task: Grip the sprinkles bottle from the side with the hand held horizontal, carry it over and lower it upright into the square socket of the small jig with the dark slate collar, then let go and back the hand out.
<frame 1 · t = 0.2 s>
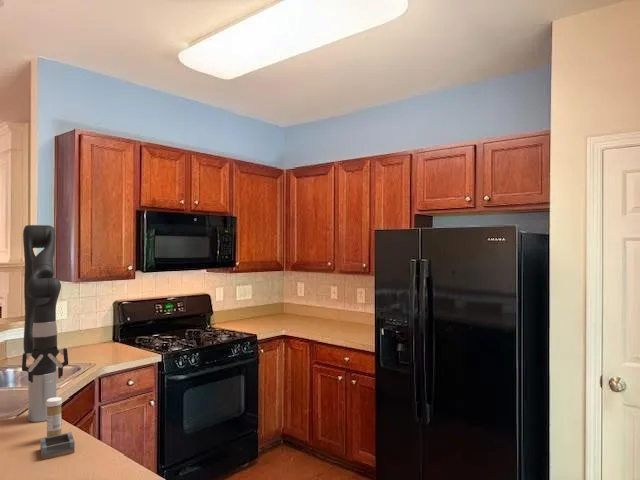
hand: (45, 380, 169), 17 cm above the worktop, tool pointing down, fingers open, 8 cm apart
socket jig: (57, 451, 151), on the worktop
sprinkles bottle: (54, 439, 161), on the worktop
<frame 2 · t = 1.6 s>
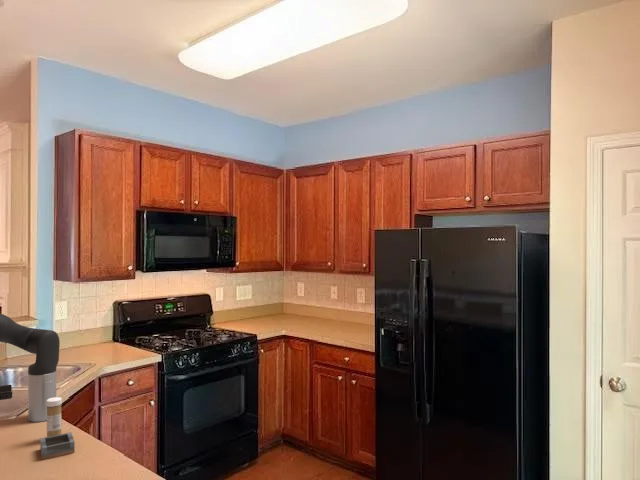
hand: (11, 391, 154), 18 cm above the worktop, tool horizontal, fingers open, 8 cm apart
nothing on the worktop moved.
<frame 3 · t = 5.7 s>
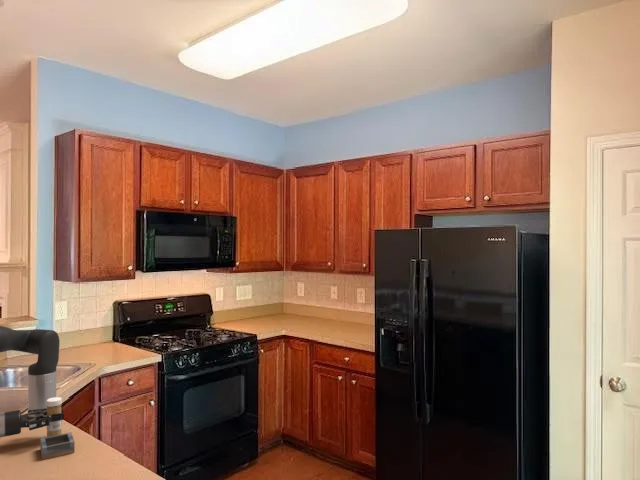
hand: (63, 413, 162), 8 cm above the worktop, tool horizontal, fingers closed on sprinkles bottle, 4 cm apart
sprinkles bottle: (54, 439, 161), on the worktop, touching gripper
when the fingers open (10 cm above the worktop, at t = 10.8 s): sprinkles bottle drops 1 cm, resting on socket jig.
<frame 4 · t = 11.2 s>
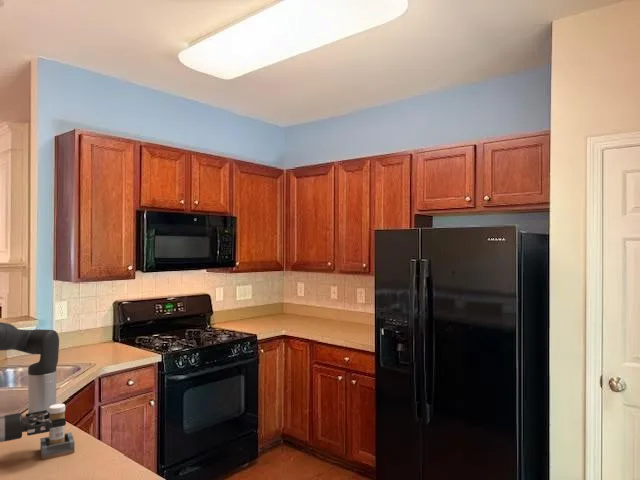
hand: (64, 417, 152), 10 cm above the worktop, tool horizontal, fingers open, 8 cm apart
sprinkles bottle: (56, 448, 151), point 1 cm above the worktop, touching socket jig
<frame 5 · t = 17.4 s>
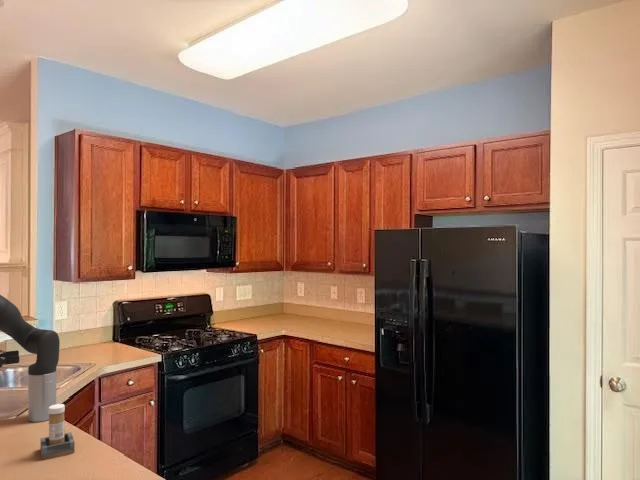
hand: (19, 356, 152), 30 cm above the worktop, tool horizontal, fingers open, 8 cm apart
nothing on the worktop moved.
at the end: sprinkles bottle 0.2 cm off-centre on the socket jig, point 0.8 cm above the socket jig's base; sprinkles bottle tilted 0°; the gripper is holding nothing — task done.
